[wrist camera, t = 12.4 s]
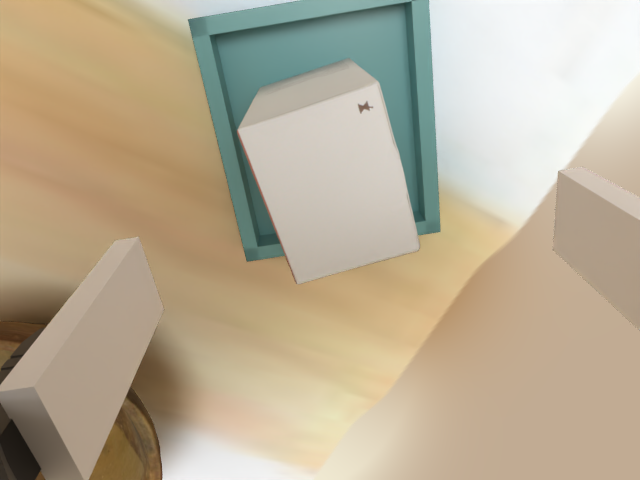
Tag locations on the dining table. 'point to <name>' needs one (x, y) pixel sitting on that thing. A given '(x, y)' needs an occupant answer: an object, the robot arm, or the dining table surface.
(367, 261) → the small box
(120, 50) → the dining table surface
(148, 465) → the bowl
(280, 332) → the dining table surface
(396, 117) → the tray
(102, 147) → the dining table surface
